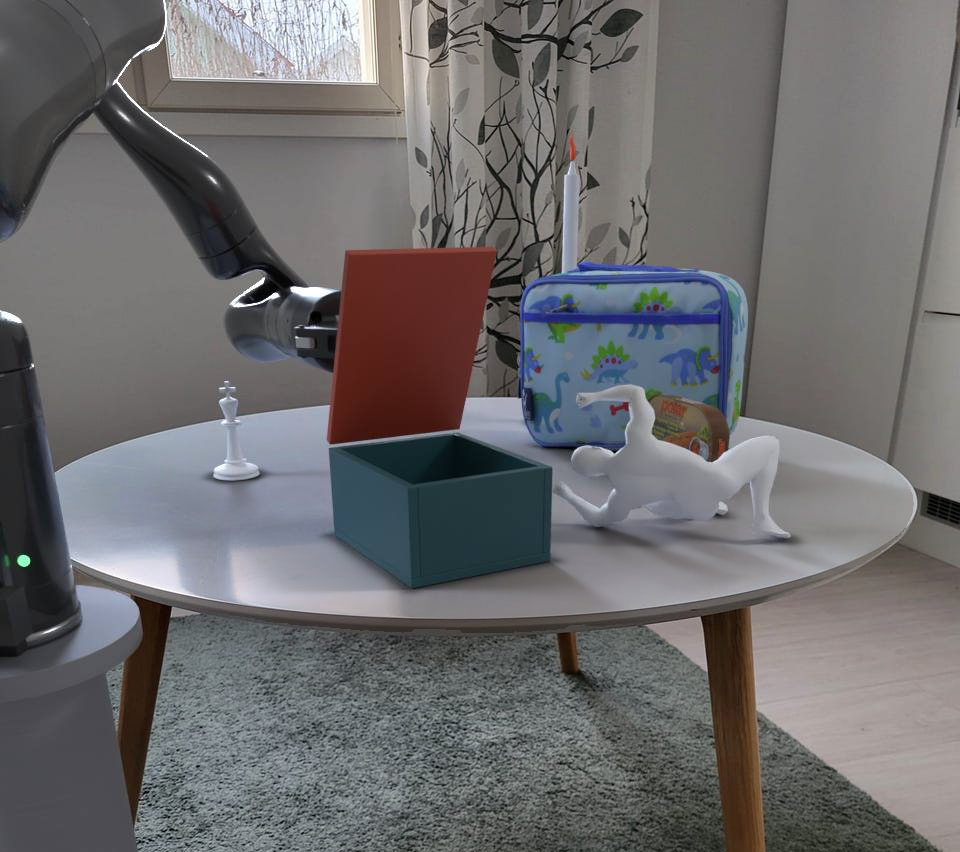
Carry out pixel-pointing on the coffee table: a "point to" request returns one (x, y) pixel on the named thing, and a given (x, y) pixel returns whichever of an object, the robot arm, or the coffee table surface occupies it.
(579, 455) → the person figurine
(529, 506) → the teal box
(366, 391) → the red box lid
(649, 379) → the lunch box
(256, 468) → the chess piece
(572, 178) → the candlestick
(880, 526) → the coffee table surface
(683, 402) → the tin
